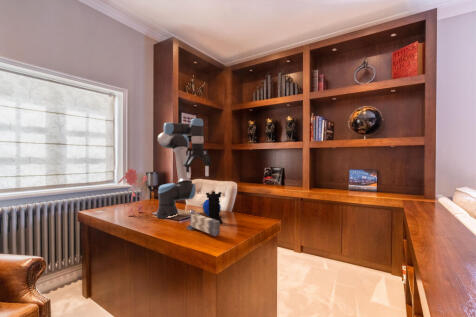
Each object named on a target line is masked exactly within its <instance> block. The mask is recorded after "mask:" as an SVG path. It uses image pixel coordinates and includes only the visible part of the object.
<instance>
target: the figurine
mask: <svg viewBox="0 0 476 317" xmlns="http://www.w3.org/2000/svg"><path fill="white" fill-rule="evenodd" d="M136 172H137V169H133V168H128V169H127V171H126V172H125V175H124V176H123V177H122V178H120V180H119V181H118V182H117V185H119V184H120V183H121V182H122V181H123V180H124V179H125V180H126V182H125V183H126V184H129V185H130V186H133V190H132V194H131V199H130V201H132V200H133V198H135V197H138V198H140V199H139V206H138V207H137V211H138V212H140V211H141V212H142V213H144V211H143V205H142V203H141V202H142V200H141V199H142V197H141V196H140V195H137V194H136V193H135V187H136V185H141V186H143V184H144V183H145V182H146V181H147V180H148V175H144V176H143V177H142V183H140V182H139V183H138V182H137V181H138V177H137V176H138V174H137V173H136ZM149 211H150V209H149V210H148V212H149ZM131 212H132V215H133V217H135V216H136V215H135V213H134V210H133V207H130V210H129V212H127V216H129V214H130V213H131Z"/></svg>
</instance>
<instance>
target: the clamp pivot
mask: <svg viewBox="0 0 476 317" xmlns="http://www.w3.org/2000/svg"><path fill="white" fill-rule="evenodd" d="M195 212H196V211H195V209H190V210H189V213H190V225H186V230H189V231H194V230H197V229H196V228H194V227H192V215H194V214H195Z"/></svg>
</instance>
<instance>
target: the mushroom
mask: <svg viewBox="0 0 476 317" xmlns="http://www.w3.org/2000/svg"><path fill="white" fill-rule="evenodd" d="M208 201H209V198H207V199H205V201H204V202H203V203H202V211H203V213H204V214H205V215H206V217H209V203H208ZM220 203H221V202H219V214H220V213H221V211H222V209H221V204H220Z"/></svg>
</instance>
